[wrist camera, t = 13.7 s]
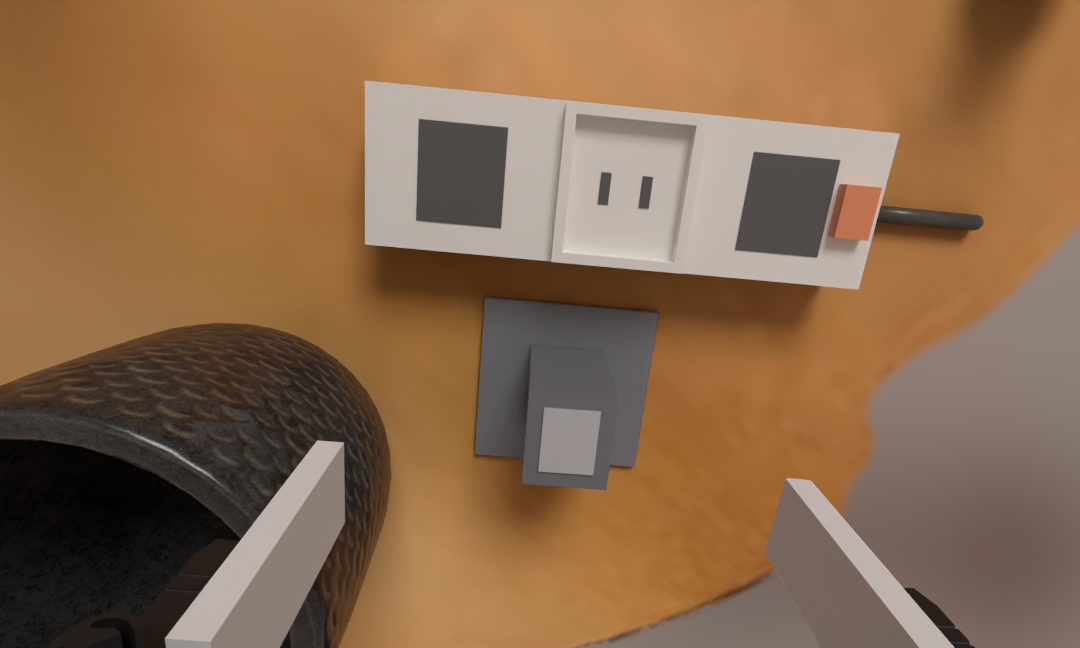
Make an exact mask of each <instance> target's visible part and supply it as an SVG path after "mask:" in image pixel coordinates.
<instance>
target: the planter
mask: <svg viewBox="0 0 1080 648" xmlns="http://www.w3.org/2000/svg"><path fill="white" fill-rule="evenodd" d="M317 440H318V441H330V442H342V443H344V482H345V523H344V525H343V527H342V529H341V531H340V533H339V535H338V537H337V539H336V541H335V543H334V545H333V546H332V548H331V550H330V552H329V554H328V556H327V558H326V560H325V562H324V564H323V566H322V568H321V570H320V571H319V573H318V575H317V577H316V579H315V581H314V583H313V585H312V587H311V589H310V591H309V593H308V595H307V596H306V598H305V600H304V602H303V604H302V606H301V608H300V610H299V612H298V614H297V616H296V618H295V620H294V621H293V623H292V625H291V627H290V629H289V631H288V633H287V635H286V637H285V639H284V641H283V643H282V645H281V646H280V648H338V647H339V645H340V642H341V640H342V637H343V635H344V633H345V630H346V628H347V625H348V623H349V620H350V618H351V615H352V612H353V609H354V606H355V603H356V601H357V598H358V595H359V592H360V589H361V587H362V584H363V581H364V578H365V575H366V572H367V570H368V567H369V564H370V561H371V558H372V555H373V552H374V549H375V546H376V543H377V540H378V537H379V534H380V531H381V528H382V525H383V522H384V518H385V514H386V511H387V503H388V496H389V489H390V481H391V468H390V450H389V445H388V441H387V436H386V432H385V427H384V425H383V422H382V420H381V417H380V415H379V412H378V410H377V408H376V406H375V404H374V402H373V401H372V399H371V397H370V396H369V394H368V392H367V391H366V389H365V388H364V387H363V386H362V385H361V383H360V382H359V381H358V380H357V379H356V377H355V376H354V375H353V374H352V373H351V372H350V371H349V370H348V369H347V368H346V367H344V366H343V365H342V364H341V363H340V362H339V361H338V360H337V359H335V358H334V357H333V356H331V355H330V354H328V353H327V352H325V351H324V350H322V349H321V348H319V347H318V346H316V345H314V344H312V343H310V342H308V341H306V340H304V339H302V338H300V337H298V336H295V335H292V334H289V333H286V332H283V331H280V330H277V329H272V328H267V327H261V326H256V325H250V324H233V323H210V324H202V325H193V326H185V327H179V328H172V329H169V330H165V331H161V332H157V333H154V334H150V335H147V336H143V337H140V338H136V339H133V340H130V341H127V342H124V343H121V344H118V345H115V346H112V347H109V348H106V349H103V350H100V351H97V352H94V353H91V354H88V355H85V356H82V357H79V358H76V359H73V360H70V361H67V362H64V363H61V364H58V365H55V366H53V367H50V368H47V369H44V370H41V371H38V372H35V373H32V374H29V375H27V376H24V377H22V378H19V379H17V380H14V381H12V382H9V383H7V384H4V385H2V386H0V648H47V647H48V646H49V645H50V644H51V642H52V641H53V640H54V639H55V638H56V637H58V636H59V635H61V634H62V633H63V632H65V631H66V630H67V629H69V628H70V627H72V626H74V625H76V624H78V623H80V622H82V621H84V620H86V619H88V618H90V617H94V616H98V615H102V614H105V613H109V612H126V613H129V614H132V615H134V616H137V618H138V619H139V618H140V617H141V616H142V614H143V613H144V612H145V611H146V610H147V609H148V607H149V606H150V605H151V604H152V603H153V602H154V600H155V599H156V598H157V597H158V596H159V595H160V594H161V592H164V591H165V588H166V587H167V585H168V584H169V583H170V582H171V581H172V580H173V578H174V577H175V576H178V573H179V571H180V570H181V569H182V568H183V567H184V566H185V564H186V563H187V562H188V561H189V560H190V559H191V557H192V556H193V555H194V554H195V553H197V552H198V551H200V550H201V549H203V548H204V547H206V546H207V545H209V544H210V543H212V542H213V541H215V540H216V539H222V540H236V541H240V540H241V539H242V538H243V536H244V535H245V534H246V532H247V531H248V530H249V529H250V527H251V526H252V525H253V523H254V522H255V521H256V519H257V518H258V517H259V516H260V514H261V513H262V512H263V510H264V509H265V508H266V506H267V505H268V504H269V503H270V501H271V500H272V499H273V497H274V496H275V495H276V493H277V492H278V491H279V490H280V488H281V487H282V486H283V484H284V483H285V482H286V480H287V479H288V478H289V477H290V475H291V474H292V473H293V471H294V470H295V469H296V467H297V466H298V465H299V464H300V462H301V461H302V460H303V458H304V457H305V456H306V455H307V453H308V452H309V451H310V449H311V448H312V447H313V445H314V444H315V443H316V442H317Z"/></svg>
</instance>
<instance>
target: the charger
mask: <svg viewBox="0 0 1080 648" xmlns="http://www.w3.org/2000/svg"><path fill="white" fill-rule="evenodd" d="M618 400H619V395H618V392H617V390H616V387H615V384H614V381H613V378H612V375H611V373H610V370H609V367H608V364H607V361H606V359H605V356H604V353H603V350H599V349H587V348H574V347H561V346H549V345H536V344H531V354H530V366H529V378H528V390H527V402H526V414H525V429H524V447H523V466H522V484H528V485H542V486H556V487H570V488H584V489H598V490H606V488H607V481H608V473H609V466H610V459H611V451H612V444H613V437H614V429H615V422H616V414H617V407H618Z"/></svg>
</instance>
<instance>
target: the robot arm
mask: <svg viewBox="0 0 1080 648" xmlns="http://www.w3.org/2000/svg"><path fill="white" fill-rule="evenodd" d="M344 523H345V482H344V443H342V442H330V441H318V440H317V442H316V443H315V444H314V445H313V447H312V448H311V449H310V451H309V452H308V453H307V455H306V456H305V457H304V458H303V460H302V461H301V462H300V464H299V465H298V466H297V467H296V469H295V470H294V471H293V473H292V474H291V475H290V477H289V478H288V479H287V480H286V482H285V483H284V484H283V486H282V487H281V488H280V490H279V491H278V492H277V493H276V495H275V496H274V497H273V499H272V500H271V501H270V503H269V504H268V505H267V506H266V508H265V509H264V510H263V512H262V513H261V514H260V516H259V517H258V518H257V519H256V521H255V522H254V523H253V525H252V526H251V527H250V529H249V530H248V531H247V532H246V534H245V535H244V536H243V538H242V539H241V540H240V541H236V540H222V539H216V540H215V541H213V542H212V543H210V544H209V545H207V546H206V547H204V548H203V549H201V550H200V551H198V552H197V553H195V554H194V555H193V556H192V557H191V559H190V560H189V561H188V562H187V563H186V564H185V566H184V567H183V568H182V569H181V570H180V571H179V573H178V576H175V577H174V578H173V580H172V581H171V582H170V583H169V584H168V585H167V587H166V588H165V591H164V592H161V594H160V595H159V596H158V597H157V598H156V599H155V600H154V602H153V603H152V604H151V605H150V606H149V607H148V609H147V610H146V611H145V612H144V613H143V614H142V616H141V617H140V618H139V619H138V618H137V616H134V615H132V614H129V613H126V612H109V613H105V614H102V615H98V616H94V617H90V618H88V619H86V620H84V621H82V622H80V623H78V624H76V625H74V626H72V627H70V628H69V629H67V630H66V631H65V632H63V633H62V634H61V635H59V636H58V637H56V638H55V639H54V640H53V641H52V642H51V644H50V645H49V646H48V647H47V648H280V646H281V645H282V643H283V641H284V639H285V637H286V635H287V633H288V631H289V629H290V627H291V625H292V623H293V621H294V620H295V618H296V616H297V614H298V612H299V610H300V608H301V606H302V604H303V602H304V600H305V598H306V596H307V595H308V593H309V591H310V589H311V587H312V585H313V583H314V581H315V579H316V577H317V575H318V573H319V571H320V570H321V568H322V566H323V564H324V562H325V560H326V558H327V556H328V554H329V552H330V550H331V548H332V546H333V545H334V543H335V541H336V539H337V537H338V535H339V533H340V531H341V529H342V527H343V525H344ZM765 555H766V556H767V558H768V560H769V561H770V563H771V565H772V567H773V568H774V570H775V572H776V573H777V575H778V577H779V578H780V580H781V582H782V584H783V585H784V587H785V589H786V590H787V592H788V594H789V595H790V597H791V599H792V601H793V602H794V604H795V606H796V607H797V609H798V611H799V613H800V614H801V616H802V618H803V619H804V621H805V623H806V625H807V626H808V628H809V630H810V631H811V633H812V635H813V637H814V638H815V640H816V642H817V643H818V645H819V647H820V648H975V647H974V646H970V644H969V641H968V639H967V638H966V637H965V636H964V635H963V634H962V633H961V632H960V631H959V630H958V629H955V625H954V624H953V623H952V622H951V621H950V620H949V618H948V617H946V615H945V614H944V613H943V612H942V611H941V610H940V608H939V607H938V606H937V605H935V604H934V603H933V602H931V601H930V600H929V599H927V598H926V597H925V596H923V595H922V594H920V593H919V592H918V591H916V590H915V589H914V588H903V587H902V586H901V585H900V584H899V582H898V581H897V580H896V579H895V578H894V577H893V576H892V574H891V573H890V572H889V571H888V570H887V569H886V567H885V566H884V565H883V564H882V563H881V562H880V561H879V559H878V558H877V557H876V556H875V555H874V554H873V552H872V551H871V550H870V549H869V548H868V547H867V545H866V544H865V543H864V542H863V541H862V540H861V538H860V537H859V536H858V535H857V534H856V533H855V531H854V530H853V529H852V528H851V527H850V526H849V524H848V523H847V522H846V521H845V520H844V519H843V517H842V516H841V515H840V514H839V513H838V512H837V511H836V509H835V508H834V507H833V506H832V505H831V504H830V502H829V501H828V500H827V499H826V498H825V497H824V495H823V494H822V493H821V492H820V491H819V490H818V488H817V487H816V486H815V485H814V484H813V483H812V481H811V480H802V479H790V478H785V482H784V486H783V489H782V493H781V497H780V500H779V504H778V508H777V511H776V515H775V519H774V522H773V526H772V530H771V533H770V537H769V541H768V544H767V548H766V552H765Z"/></svg>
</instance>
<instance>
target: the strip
mask: <svg viewBox="0 0 1080 648" xmlns="http://www.w3.org/2000/svg"><path fill="white" fill-rule="evenodd" d="M899 135H900V134H897V133H887V132H877V131H867V130H857V129H847V128H837V127H827V126H817V125H807V124H797V123H787V122H777V121H767V120H757V119H746V118H736V117H726V116H716V115H706V114H696V113H686V112H676V111H666V110H656V109H646V108H636V107H626V106H616V105H606V104H596V103H586V102H576V101H566V100H556V99H546V98H535V97H525V96H515V95H505V94H495V93H485V92H475V91H465V90H455V89H445V88H435V87H425V86H415V85H405V84H395V83H385V82H375V81H365V245H376V246H387V247H398V248H409V249H420V250H431V251H442V252H453V253H464V254H475V255H486V256H497V257H508V258H519V259H530V260H541V261H551V262H557V263H568V264H579V265H590V266H601V267H612V268H623V269H634V270H645V271H656V272H667V273H678V274H683V273H684V274H695V275H706V276H717V277H728V278H739V279H750V280H761V281H772V282H783V283H794V284H805V285H816V286H827V287H838V288H849V289H859V286H860V282H861V278H862V274H863V271H864V267H865V263H866V259H867V256H868V252H869V248H870V244H871V240H872V237H873V233H874V229H875V225H876V222H877V221H878V222H889V223H899V224H910V225H920V226H931V227H941V228H952V229H963V230H977V229H979V228H980V227H981V226H982V225H983V219H982V217H981V216H979V215H972V214H962V213H951V212H941V211H930V210H920V209H909V208H899V207H888V206H881V203H882V199H883V195H884V191H885V188H886V184H887V180H888V176H889V173H890V169H891V165H892V161H893V157H894V154H895V150H896V146H897V142H898V139H899Z"/></svg>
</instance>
